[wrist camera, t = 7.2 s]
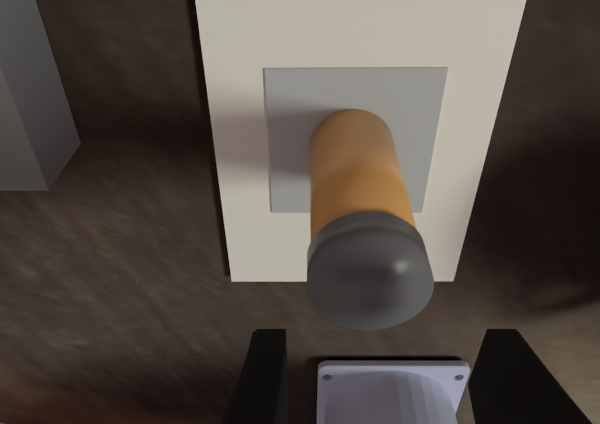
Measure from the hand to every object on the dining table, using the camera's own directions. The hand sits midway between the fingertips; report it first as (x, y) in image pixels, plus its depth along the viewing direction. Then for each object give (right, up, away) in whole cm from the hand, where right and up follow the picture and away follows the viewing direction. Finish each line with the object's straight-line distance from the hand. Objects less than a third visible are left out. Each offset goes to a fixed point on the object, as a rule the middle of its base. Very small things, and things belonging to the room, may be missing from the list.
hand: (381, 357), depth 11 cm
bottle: (0, +6, +7) cm, 9 cm away
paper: (0, +6, +7) cm, 9 cm away
